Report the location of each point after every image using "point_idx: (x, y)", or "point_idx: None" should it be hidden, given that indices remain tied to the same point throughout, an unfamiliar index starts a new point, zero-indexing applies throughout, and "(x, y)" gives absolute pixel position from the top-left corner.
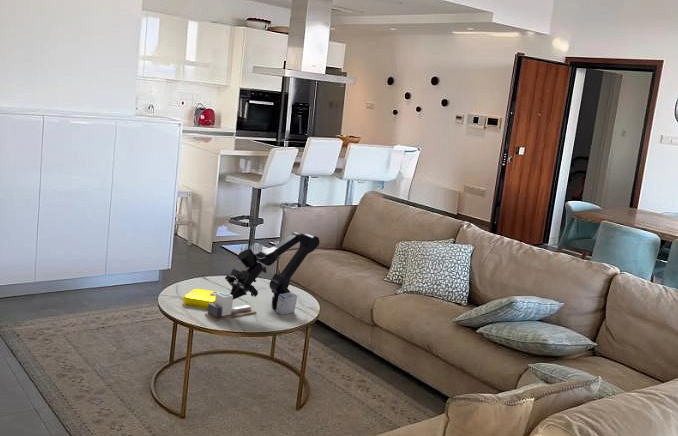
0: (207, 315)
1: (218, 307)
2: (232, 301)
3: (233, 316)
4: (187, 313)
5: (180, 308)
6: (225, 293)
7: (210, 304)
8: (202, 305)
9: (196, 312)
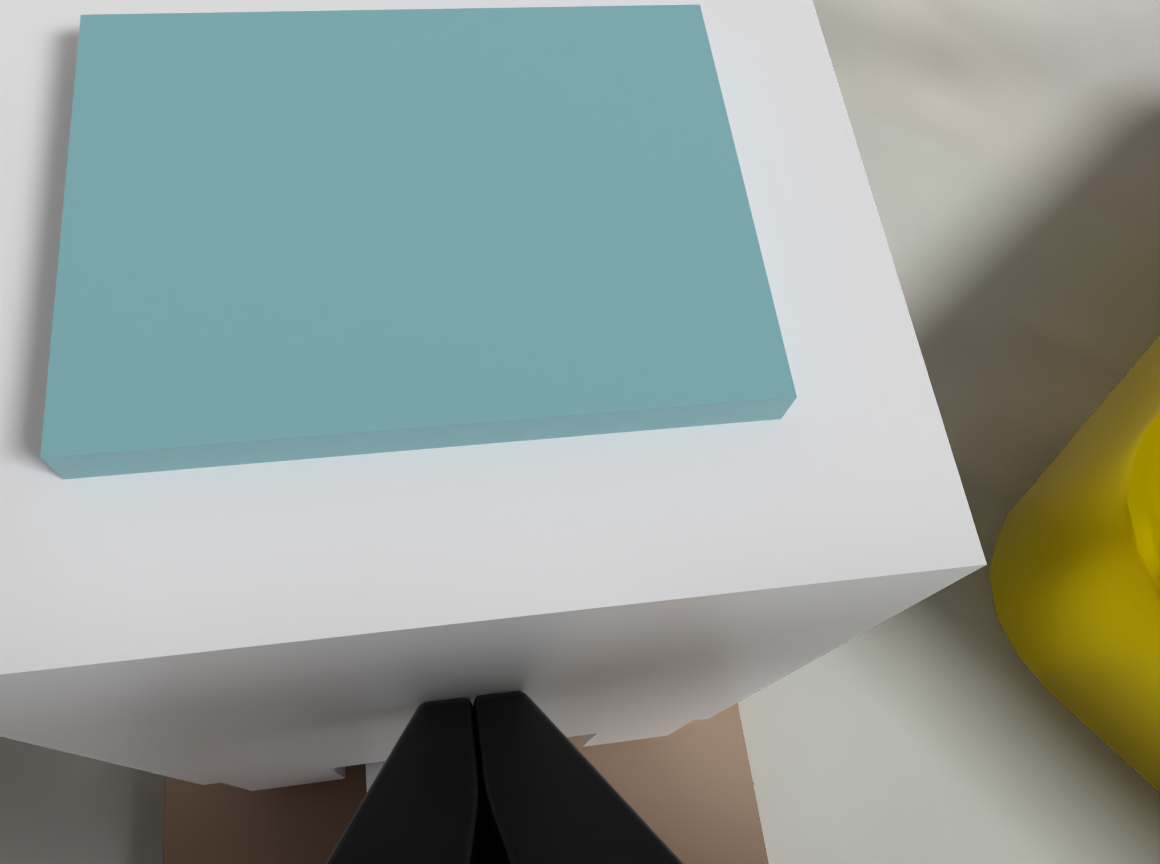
0: None
1: None
2: (56, 744)
3: (170, 846)
4: (821, 19)
5: (1112, 35)
6: (435, 275)
7: None
8: (1146, 368)
9: None
